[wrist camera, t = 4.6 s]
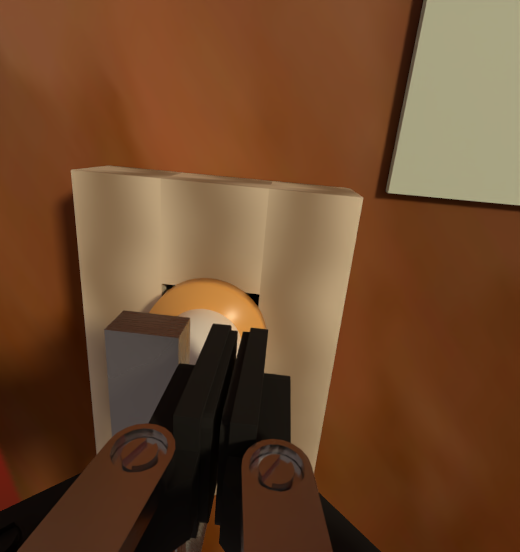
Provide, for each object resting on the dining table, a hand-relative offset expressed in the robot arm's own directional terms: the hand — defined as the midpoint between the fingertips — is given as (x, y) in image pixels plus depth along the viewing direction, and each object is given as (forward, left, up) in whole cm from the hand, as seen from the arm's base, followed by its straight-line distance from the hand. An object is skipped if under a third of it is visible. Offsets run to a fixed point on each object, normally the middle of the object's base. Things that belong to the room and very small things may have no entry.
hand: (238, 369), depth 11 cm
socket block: (+2, +6, -12) cm, 14 cm away
